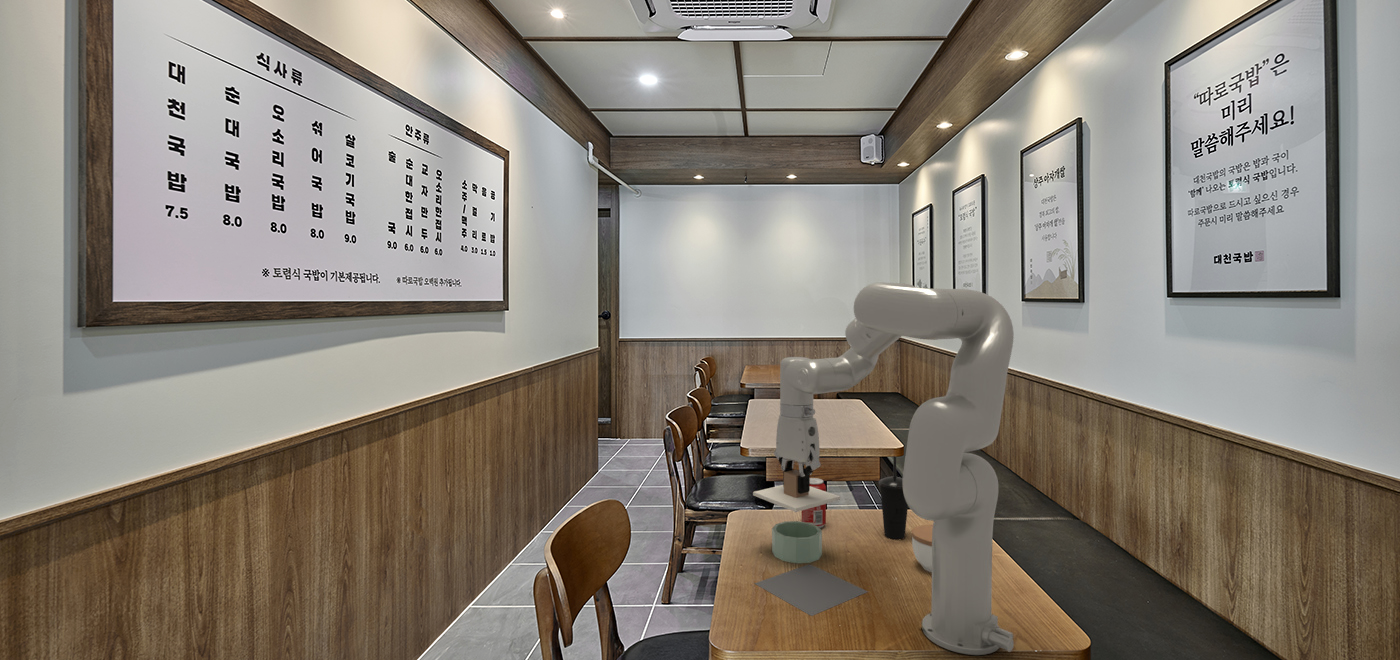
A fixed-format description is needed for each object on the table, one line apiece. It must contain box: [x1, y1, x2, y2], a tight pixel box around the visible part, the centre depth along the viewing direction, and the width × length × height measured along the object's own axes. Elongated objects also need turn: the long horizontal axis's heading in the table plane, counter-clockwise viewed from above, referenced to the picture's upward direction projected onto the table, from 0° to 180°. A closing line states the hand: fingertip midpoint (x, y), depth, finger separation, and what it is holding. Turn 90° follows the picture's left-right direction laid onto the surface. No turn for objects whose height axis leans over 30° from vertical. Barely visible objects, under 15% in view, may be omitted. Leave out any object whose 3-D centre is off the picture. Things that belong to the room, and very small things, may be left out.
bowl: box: [771, 520, 823, 564], centre depth 136 cm, size 11×11×6 cm
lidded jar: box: [911, 524, 933, 574], centre depth 129 cm, size 11×11×9 cm
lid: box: [752, 469, 841, 513], centre depth 136 cm, size 14×14×6 cm
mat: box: [754, 563, 869, 617], centre depth 119 cm, size 16×16×1 cm
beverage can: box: [801, 477, 827, 529], centre depth 155 cm, size 6×6×12 cm
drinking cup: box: [878, 456, 909, 541], centre depth 147 cm, size 8×8×20 cm
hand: (796, 489), depth 136 cm, fingers closed on lid, 4 cm apart
